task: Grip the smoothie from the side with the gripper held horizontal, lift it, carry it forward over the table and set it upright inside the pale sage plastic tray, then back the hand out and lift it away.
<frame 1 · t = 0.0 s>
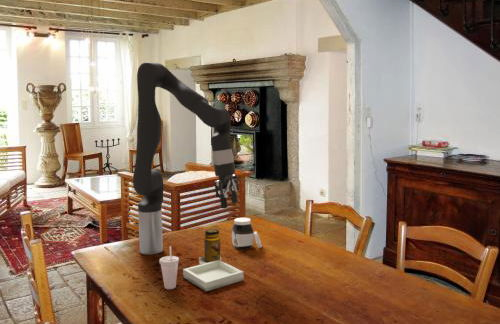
hand: (229, 205, 175), 22 cm above the table, fingers open, 8 cm apart
smoothie: (170, 287, 157), on the table
tray: (213, 278, 164), on the table
spread jar: (247, 247, 197), on the table
condiment: (210, 261, 182), on the table
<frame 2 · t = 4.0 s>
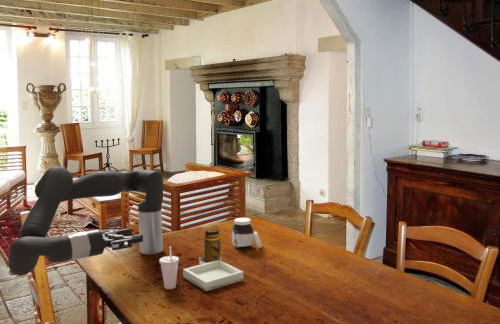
hand: (136, 234, 147), 20 cm above the table, fingers open, 8 cm apart
nothing on the table moved.
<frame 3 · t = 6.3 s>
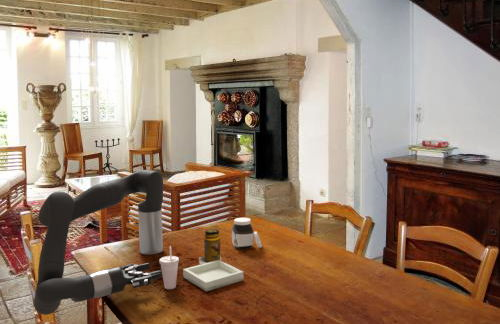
hand: (155, 269, 152), 8 cm above the table, fingers open, 8 cm apart
nothing on the table moved.
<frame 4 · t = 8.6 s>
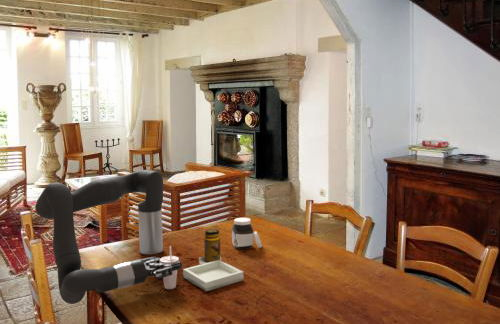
hand: (175, 262, 157), 8 cm above the table, fingers closed on smoothie, 6 cm apart
smoothie: (170, 287, 157), on the table, touching gripper
everything else where it was.
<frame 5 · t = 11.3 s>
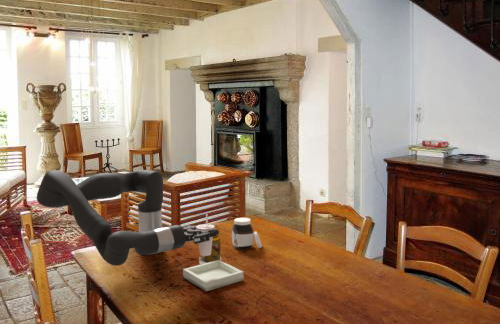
hand: (211, 230, 161), 17 cm above the table, fingers closed on smoothie, 6 cm apart
smoothie: (205, 254, 161), point 9 cm above the table, touching gripper
everything else where it was.
when the fingers open (10 cm above the table, at t = 14.4 s): smoothie drops 1 cm, resting on tray.
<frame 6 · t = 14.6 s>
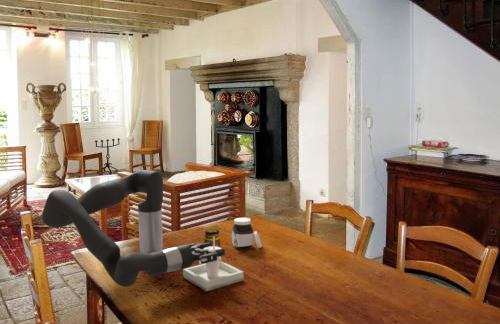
hand: (217, 248, 163), 10 cm above the table, fingers open, 8 cm apart
smoothie: (212, 276, 164), point 1 cm above the table, touching tray
everything else where it was.
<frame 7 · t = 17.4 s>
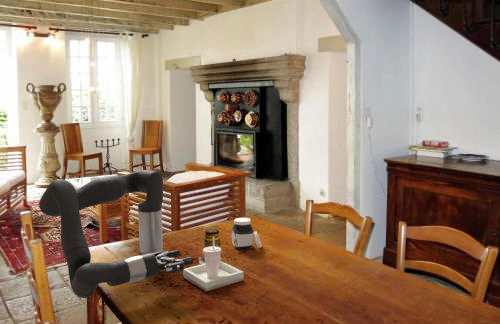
hand: (185, 256, 156), 10 cm above the table, fingers open, 8 cm apart
nothing on the table moved.
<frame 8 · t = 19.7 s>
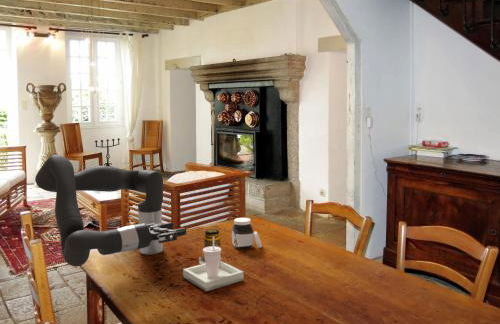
hand: (179, 228, 154), 20 cm above the table, fingers open, 8 cm apart
nothing on the table moved.
at the end: smoothie inside the target area on the tray (0.1 cm from its centre), point 0.8 cm above the tray's base; smoothie tilted 0°; the gripper is holding nothing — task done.
